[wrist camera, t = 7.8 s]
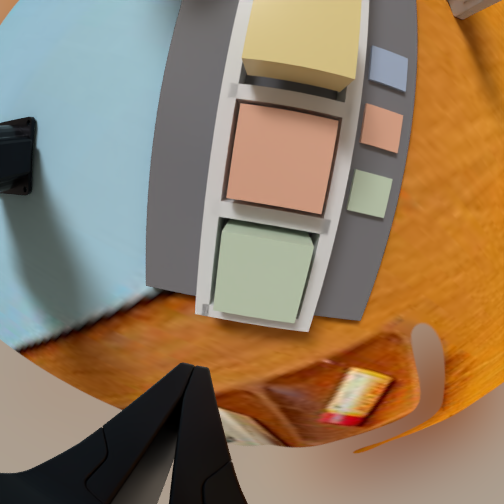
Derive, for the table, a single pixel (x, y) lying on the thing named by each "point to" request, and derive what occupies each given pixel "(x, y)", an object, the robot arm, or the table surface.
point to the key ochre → (304, 41)
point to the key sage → (262, 270)
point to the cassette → (469, 7)
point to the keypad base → (221, 149)
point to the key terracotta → (281, 158)
